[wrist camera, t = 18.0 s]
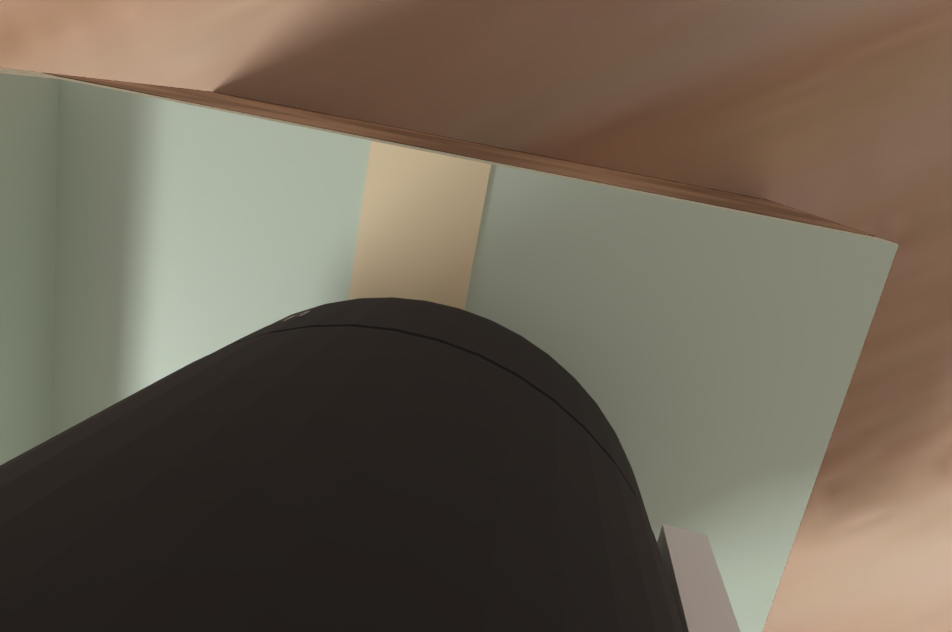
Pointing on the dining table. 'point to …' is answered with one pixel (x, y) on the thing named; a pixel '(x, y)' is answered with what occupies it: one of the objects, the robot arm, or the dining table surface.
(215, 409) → the pen holder
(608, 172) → the crate
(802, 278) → the lid
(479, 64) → the dining table surface
